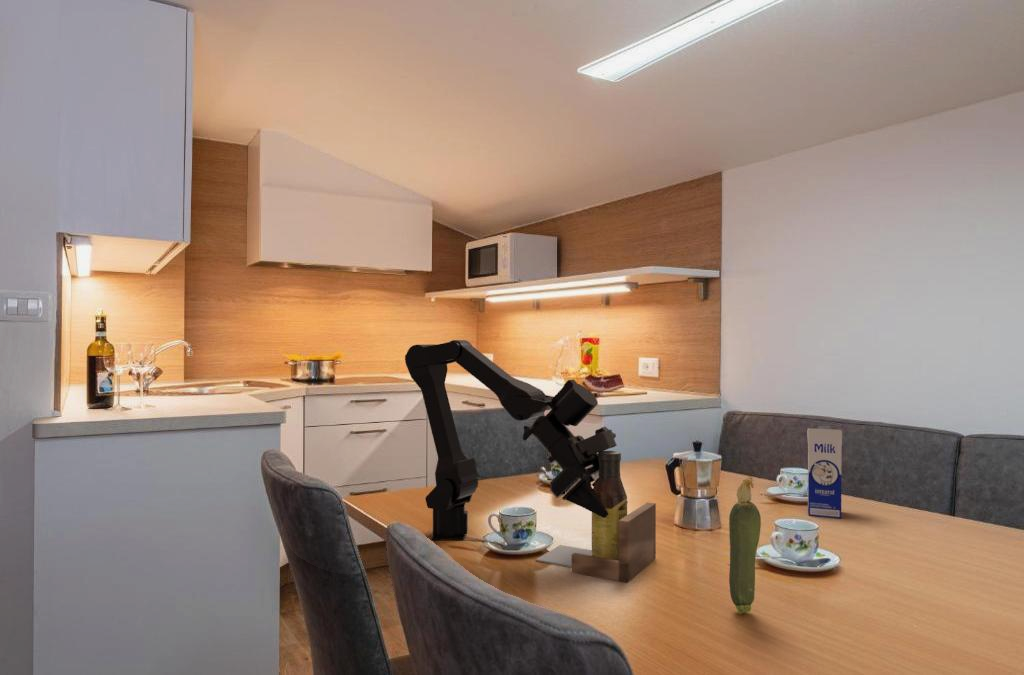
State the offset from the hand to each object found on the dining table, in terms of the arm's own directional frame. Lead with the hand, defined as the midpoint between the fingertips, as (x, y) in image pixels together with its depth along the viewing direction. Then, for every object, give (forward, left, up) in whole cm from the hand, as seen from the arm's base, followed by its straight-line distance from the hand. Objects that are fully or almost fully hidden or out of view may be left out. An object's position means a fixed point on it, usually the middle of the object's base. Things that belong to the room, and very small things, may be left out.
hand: (616, 510), depth 122 cm
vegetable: (+16, -20, -10) cm, 28 cm away
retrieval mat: (-8, +5, -10) cm, 14 cm away
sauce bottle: (-1, +1, -10) cm, 10 cm away
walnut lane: (0, 0, -10) cm, 10 cm away
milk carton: (+53, +37, -10) cm, 65 cm away
